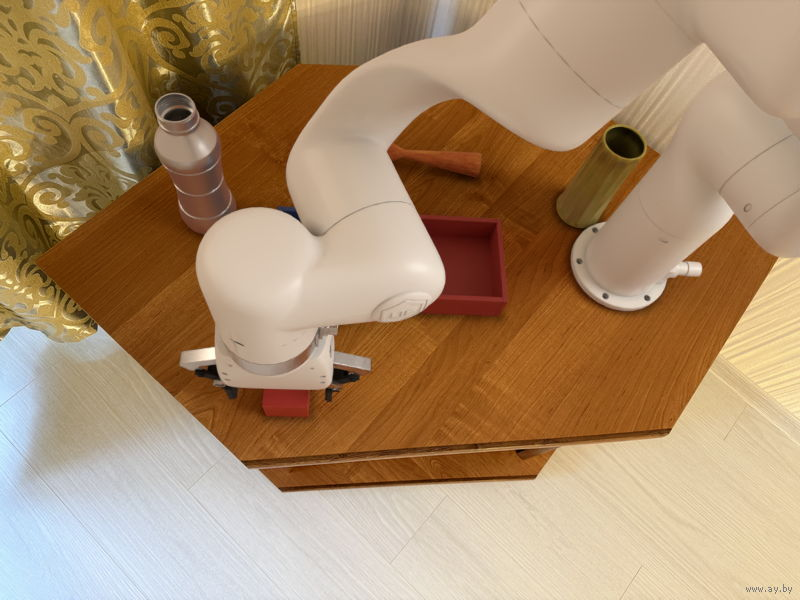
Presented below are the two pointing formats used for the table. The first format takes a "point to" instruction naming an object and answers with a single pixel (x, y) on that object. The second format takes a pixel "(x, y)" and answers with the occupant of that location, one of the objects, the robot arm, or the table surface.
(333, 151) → the robot arm
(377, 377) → the table surface
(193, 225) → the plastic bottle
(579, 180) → the vase
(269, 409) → the red block
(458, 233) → the red bin
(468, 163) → the kendama
